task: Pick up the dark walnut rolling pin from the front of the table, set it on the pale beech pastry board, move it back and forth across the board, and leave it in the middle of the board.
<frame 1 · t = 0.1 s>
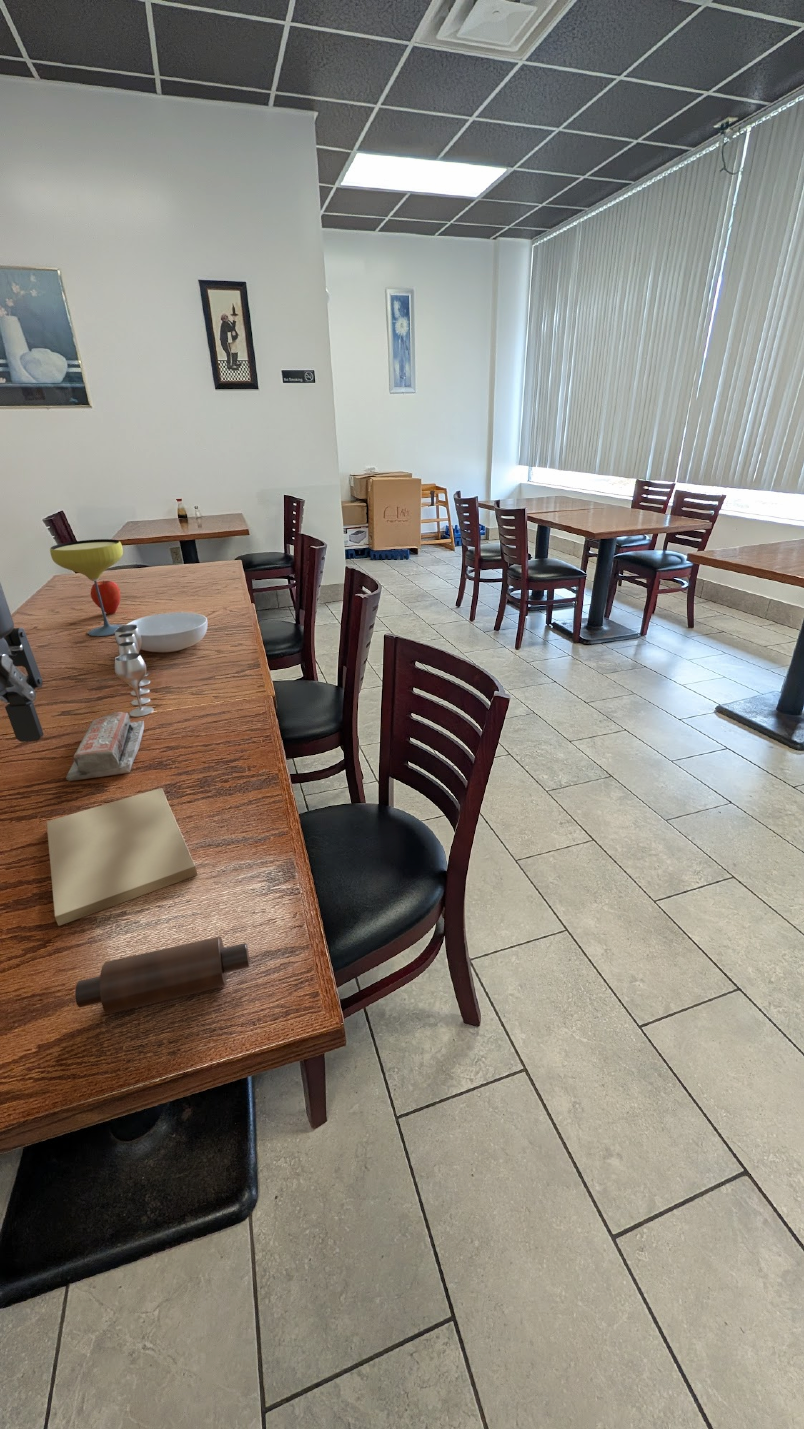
hand: (8, 762, 52), 25 cm above the table, tool pointing down, fingers open, 8 cm apart
cocktail glass: (108, 631, 173), on the table
goblet set: (140, 693, 130), on the table
rolling pin: (171, 990, 60), on the table
serving bowl: (171, 647, 158), on the table
pastry board: (119, 851, 80), on the table
packaged product: (110, 754, 106), on the table
apple: (111, 614, 191), on the table
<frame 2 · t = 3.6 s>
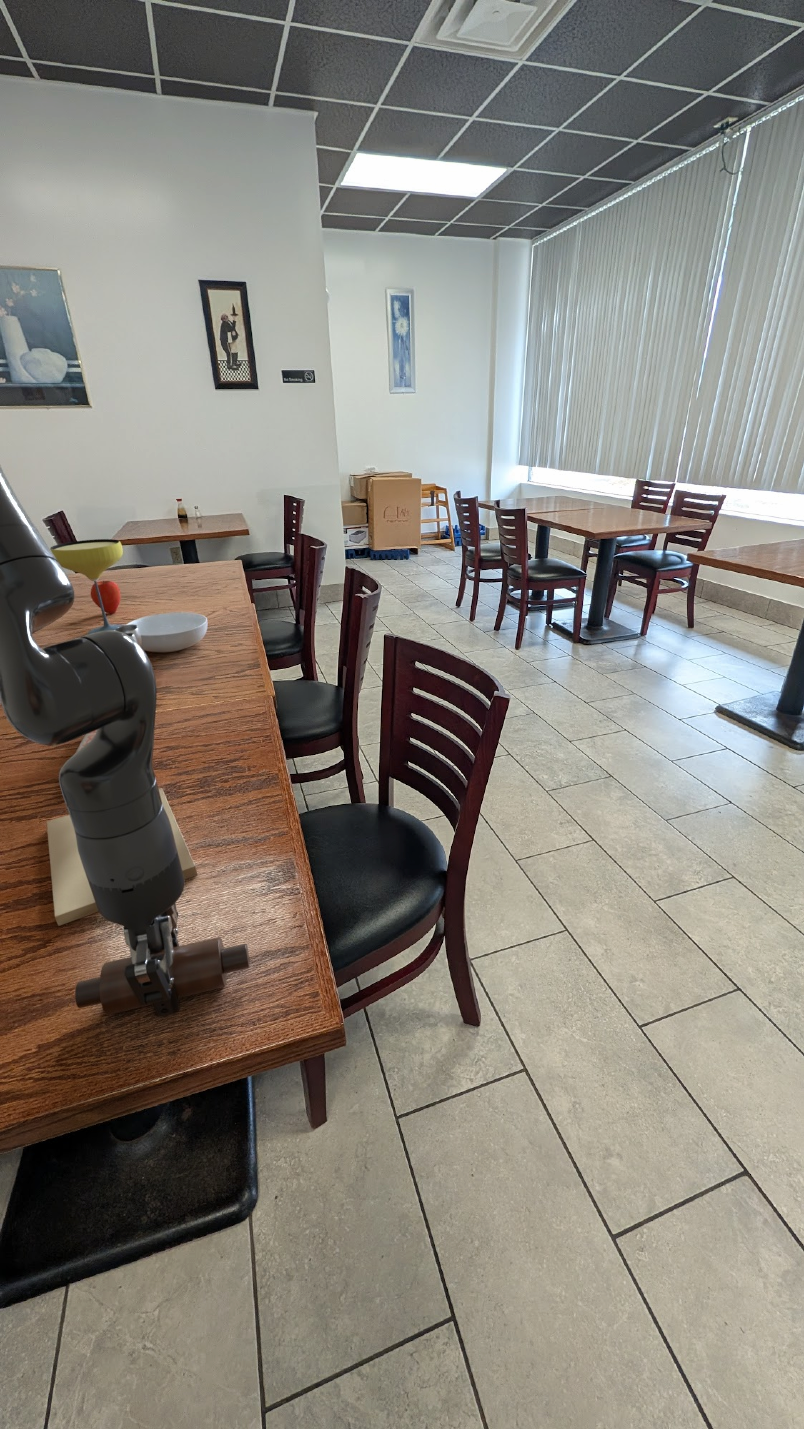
hand: (170, 988, 59), 0 cm above the table, tool pointing down, fingers closed on rolling pin, 5 cm apart
rolling pin: (171, 990, 60), on the table, touching gripper
everything else where it was.
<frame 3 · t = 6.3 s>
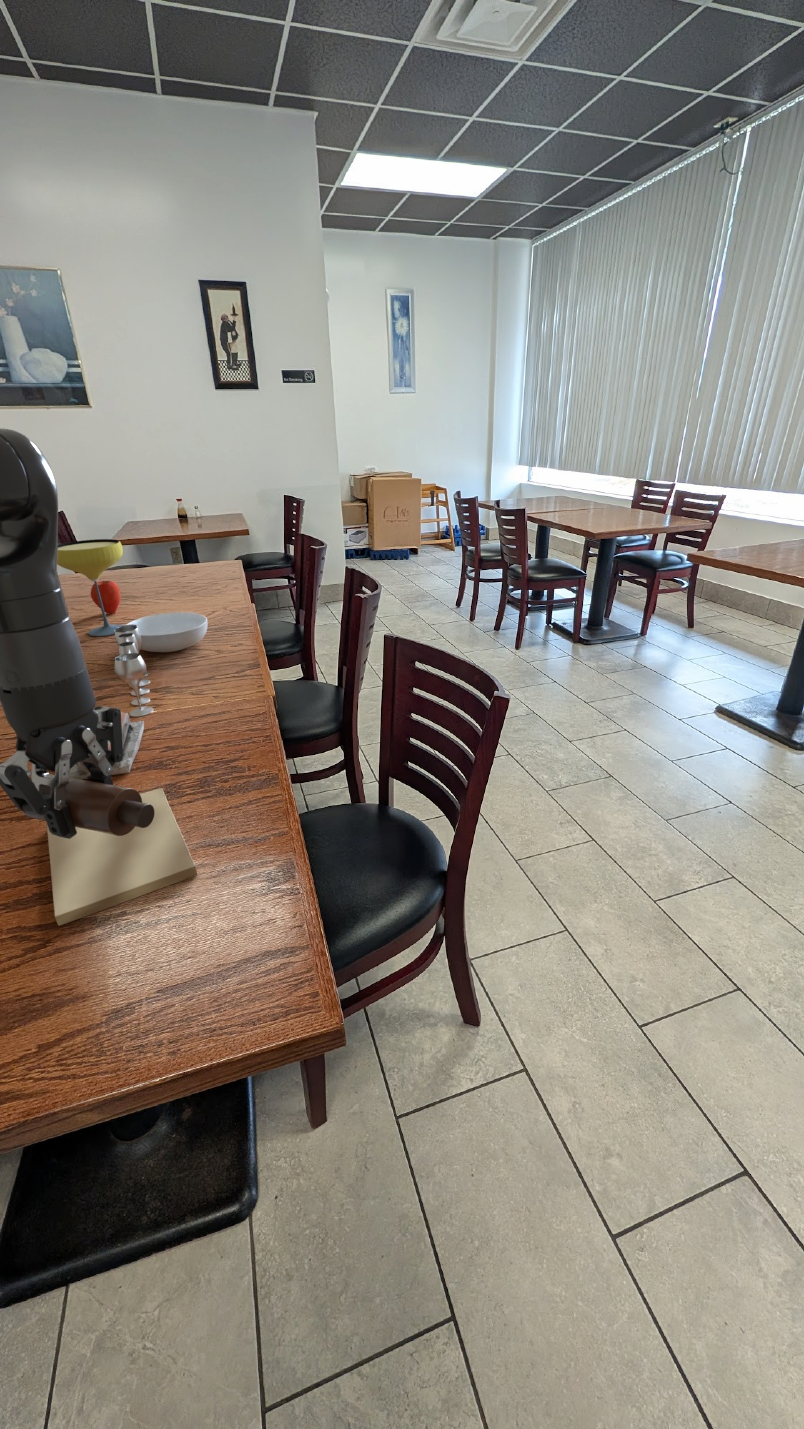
hand: (86, 819, 61), 15 cm above the table, tool pointing down, fingers closed on rolling pin, 5 cm apart
rolling pin: (88, 822, 62), point 15 cm above the table, touching gripper
everything else where it was.
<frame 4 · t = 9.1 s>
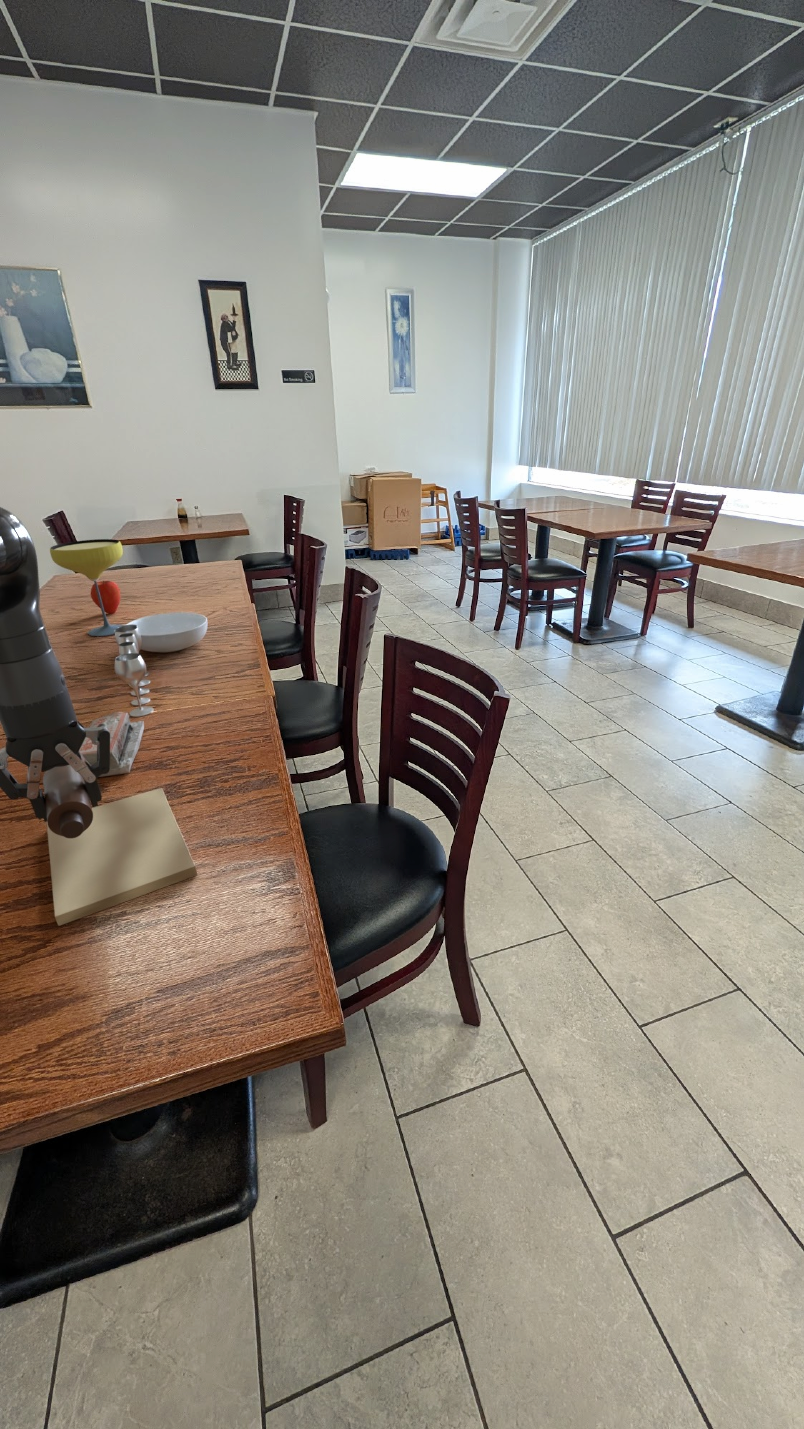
hand: (71, 810, 75), 8 cm above the table, tool pointing down, fingers closed on rolling pin, 5 cm apart
rolling pin: (73, 812, 75), point 8 cm above the table, touching gripper
everything else where it was.
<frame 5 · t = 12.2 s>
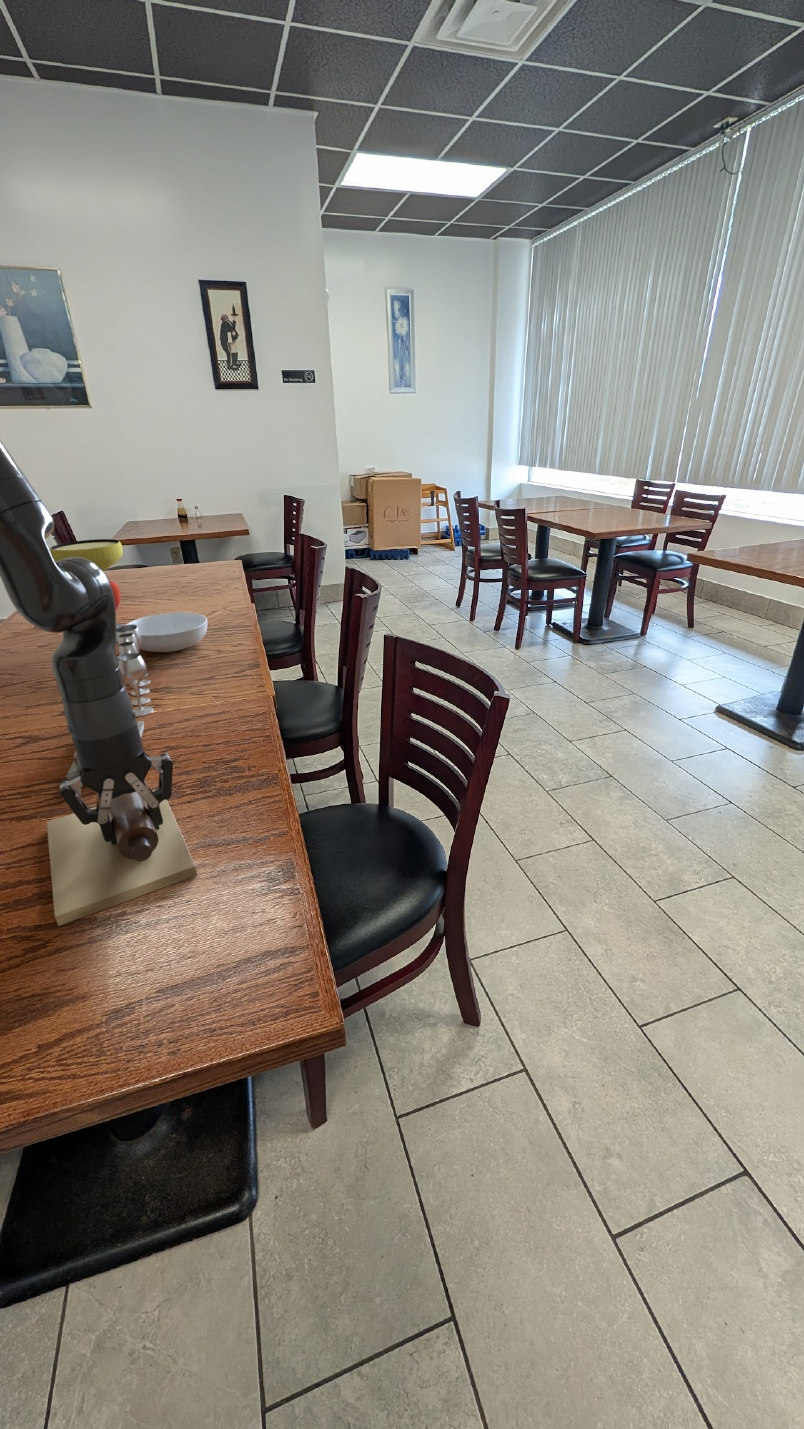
hand: (135, 833, 81), 2 cm above the table, tool pointing down, fingers closed on rolling pin, 5 cm apart
rolling pin: (136, 835, 81), point 2 cm above the table, touching gripper
everything else where it was.
when the fingers open (2 cm above the table, at t = 14.9 s): rolling pin stays where it is, resting on pastry board.
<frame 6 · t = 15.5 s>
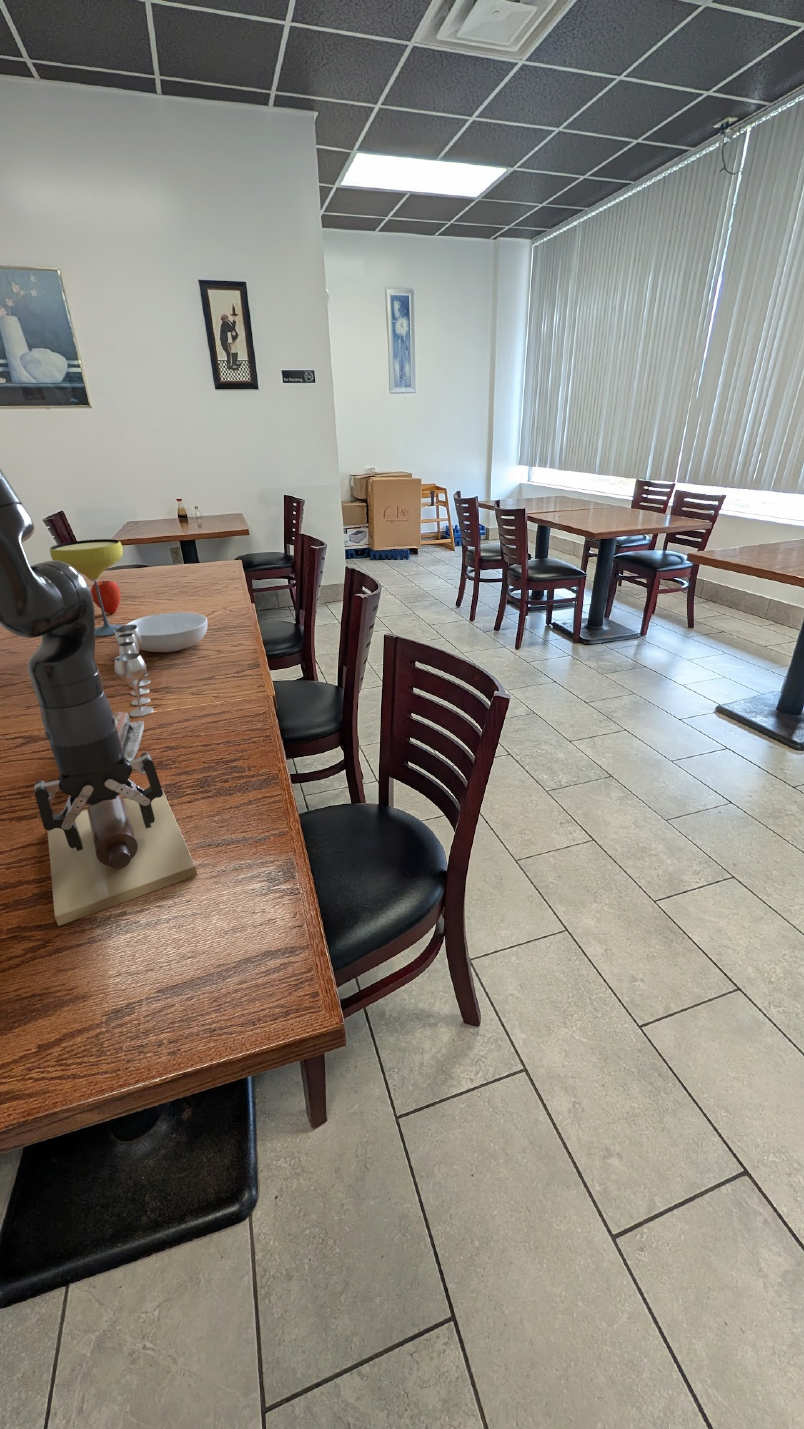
hand: (114, 836, 79), 3 cm above the table, tool pointing down, fingers open, 8 cm apart
rolling pin: (117, 841, 80), point 2 cm above the table, touching pastry board
everything else where it was.
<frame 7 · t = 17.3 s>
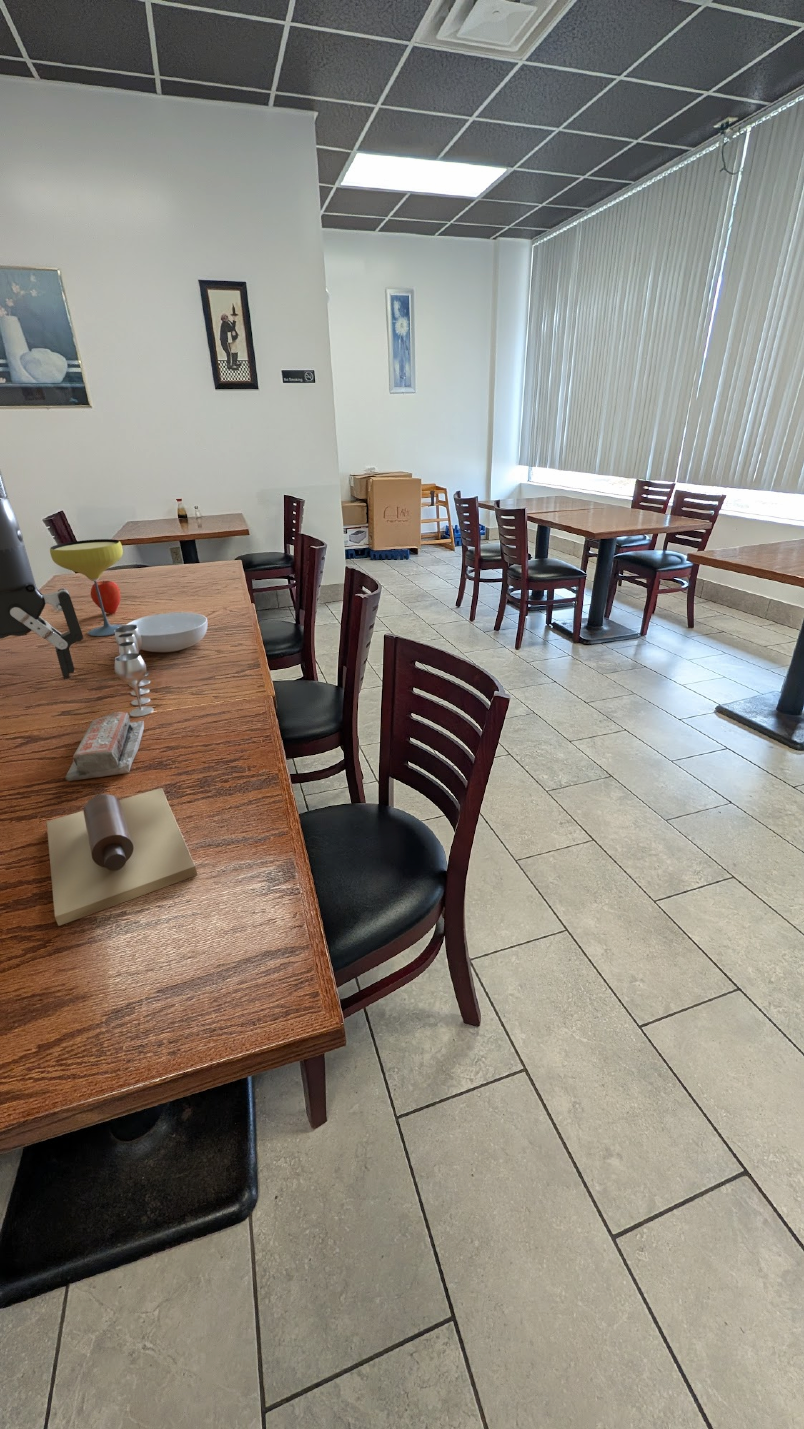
hand: (26, 684, 70), 25 cm above the table, tool pointing down, fingers open, 8 cm apart
rolling pin: (117, 841, 80), point 2 cm above the table, tilted 16°, touching pastry board
everything else where it was.
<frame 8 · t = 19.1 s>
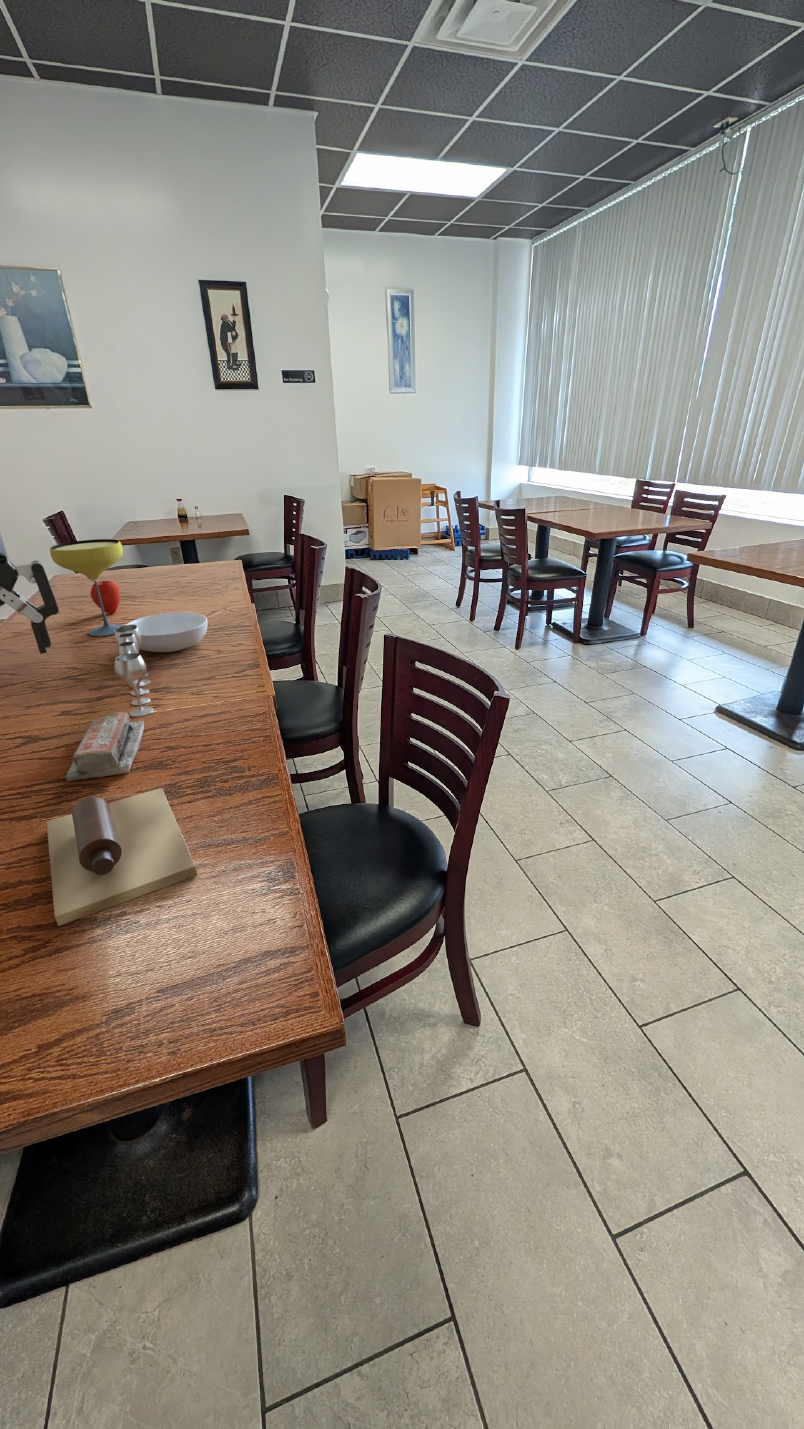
hand: (2, 659, 68), 28 cm above the table, tool pointing down, fingers open, 8 cm apart
rolling pin: (113, 837, 79), point 2 cm above the table, tilted 50°, touching pastry board
everything else where it was.
at the end: rolling pin inside the target area on the pastry board (0.1 cm from its centre), point 2.4 cm above the pastry board's base; rolling pin touching pastry board; the gripper is holding nothing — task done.
